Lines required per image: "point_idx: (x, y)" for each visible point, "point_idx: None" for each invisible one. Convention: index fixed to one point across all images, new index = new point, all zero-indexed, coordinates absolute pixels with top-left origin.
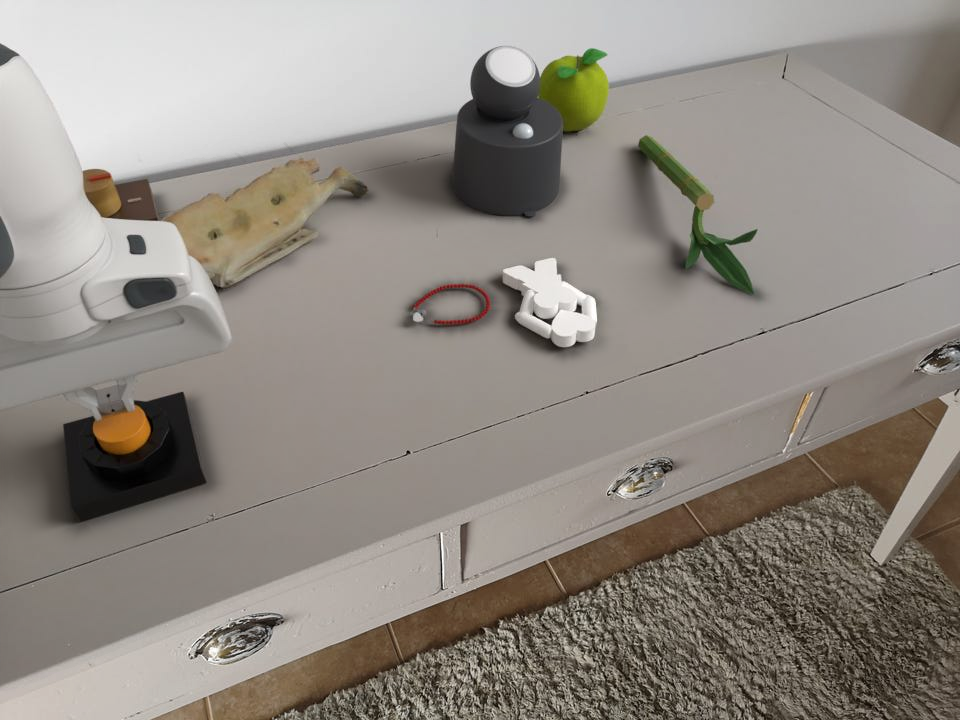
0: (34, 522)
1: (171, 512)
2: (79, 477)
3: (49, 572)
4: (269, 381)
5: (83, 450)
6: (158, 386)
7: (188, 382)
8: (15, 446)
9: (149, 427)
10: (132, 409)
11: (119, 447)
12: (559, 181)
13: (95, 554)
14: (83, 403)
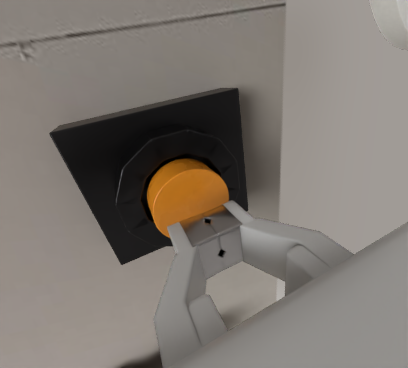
0: (262, 99)
1: (105, 79)
2: (230, 136)
3: (248, 15)
4: (8, 293)
5: (233, 166)
6: (160, 262)
7: (128, 272)
8: (275, 190)
9: (148, 204)
10: (170, 227)
11: (187, 164)
12: None
13: (200, 27)
14: (275, 228)
